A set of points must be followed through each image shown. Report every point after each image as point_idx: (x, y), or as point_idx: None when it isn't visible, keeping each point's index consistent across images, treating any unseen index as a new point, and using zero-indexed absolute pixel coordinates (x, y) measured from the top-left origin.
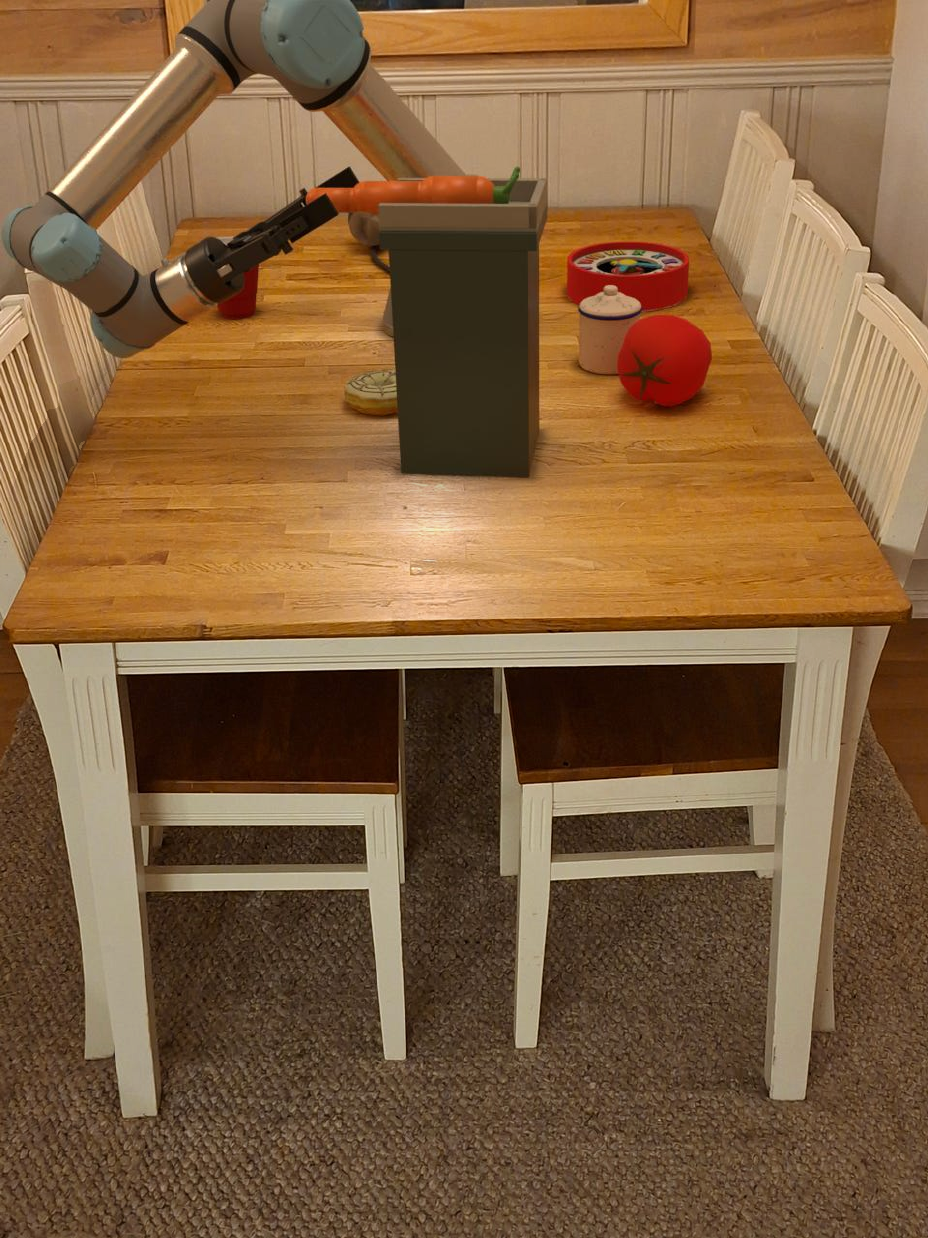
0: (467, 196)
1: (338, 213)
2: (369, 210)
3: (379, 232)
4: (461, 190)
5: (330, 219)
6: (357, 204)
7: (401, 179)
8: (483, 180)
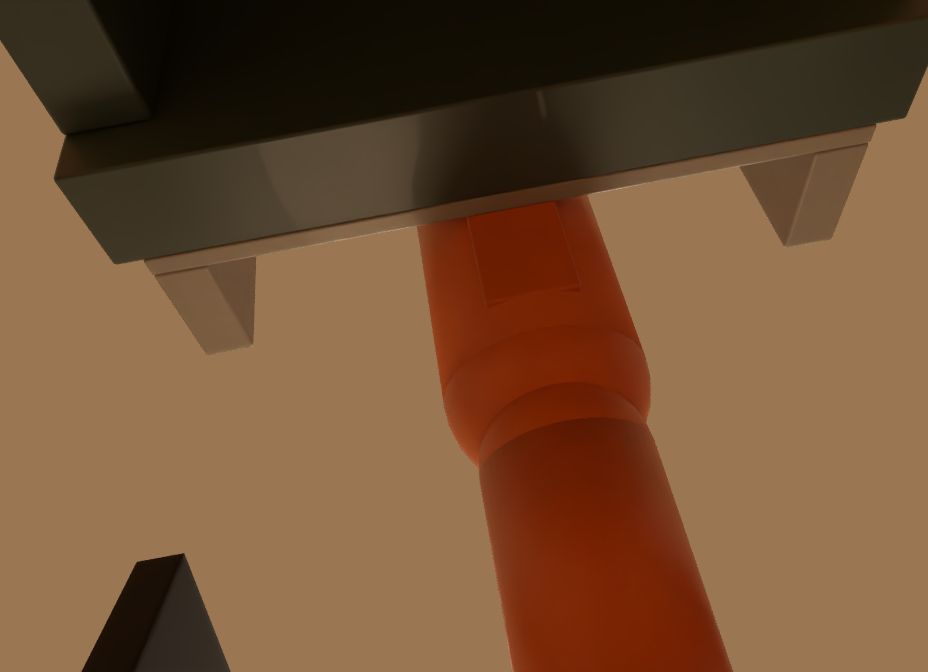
0: None
1: (179, 557)
2: (459, 335)
3: (114, 260)
4: None
5: (114, 607)
6: (462, 429)
7: (777, 230)
8: None
